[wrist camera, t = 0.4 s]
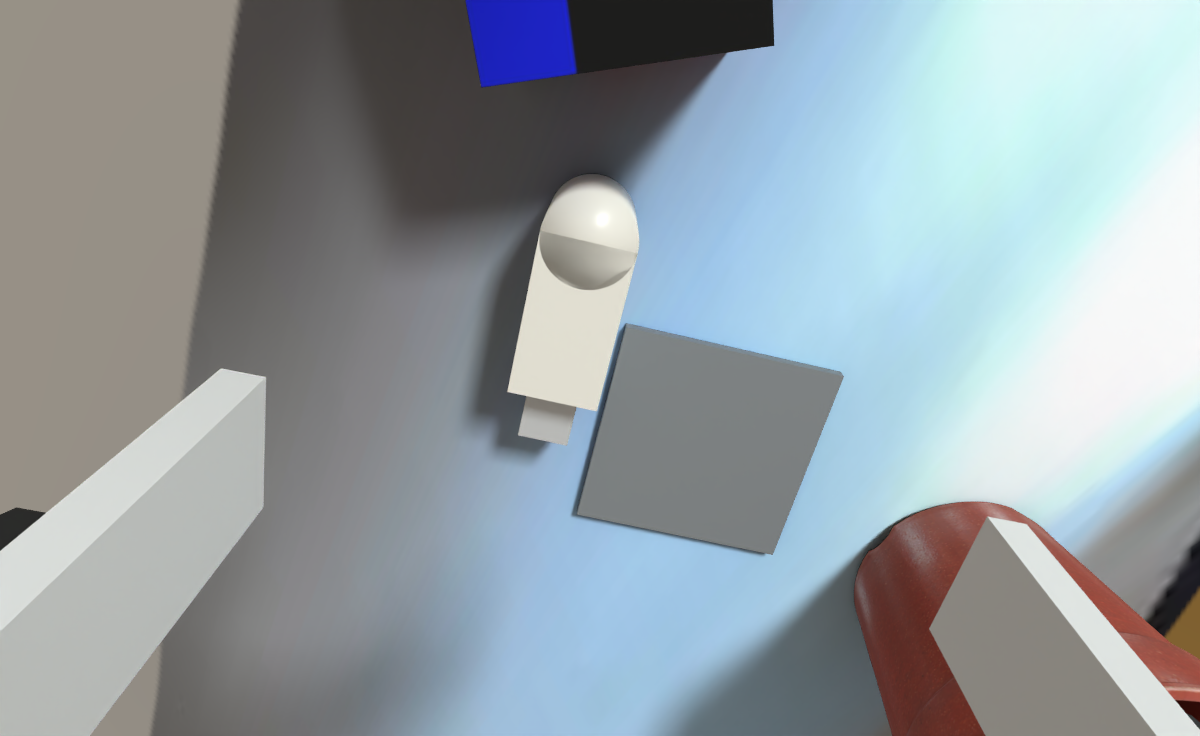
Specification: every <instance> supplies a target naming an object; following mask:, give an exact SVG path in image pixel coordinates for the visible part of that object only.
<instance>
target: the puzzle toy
mask: <svg viewBox="0 0 1200 736" xmlns="http://www.w3.org/2000/svg"><path fill="white" fill-rule="evenodd" d="M465 1H466V7H467V12H468V18H469V23H470V28H471V34H472V39H473V45H474V50H475V56H476V61H477V67H478V72H479V78H480V83H481V88H482V87H489V86H496V85H503V84H510V83H517V82H524V81H531V80H538V79H545V78H552V77H559V76H566V75H573V74H580V73H587V72H594V71H601V70H607V69H614V68H621V67H628V66H635V65H642V64H649V63H656V62H663V61H670V60H677V59H684V58H691V57H698V56H705V55H712V54H719V53H726V52H733V51H740V50H747V49H754V48H761V47H768V46H774V27H773V0H465Z"/></svg>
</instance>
